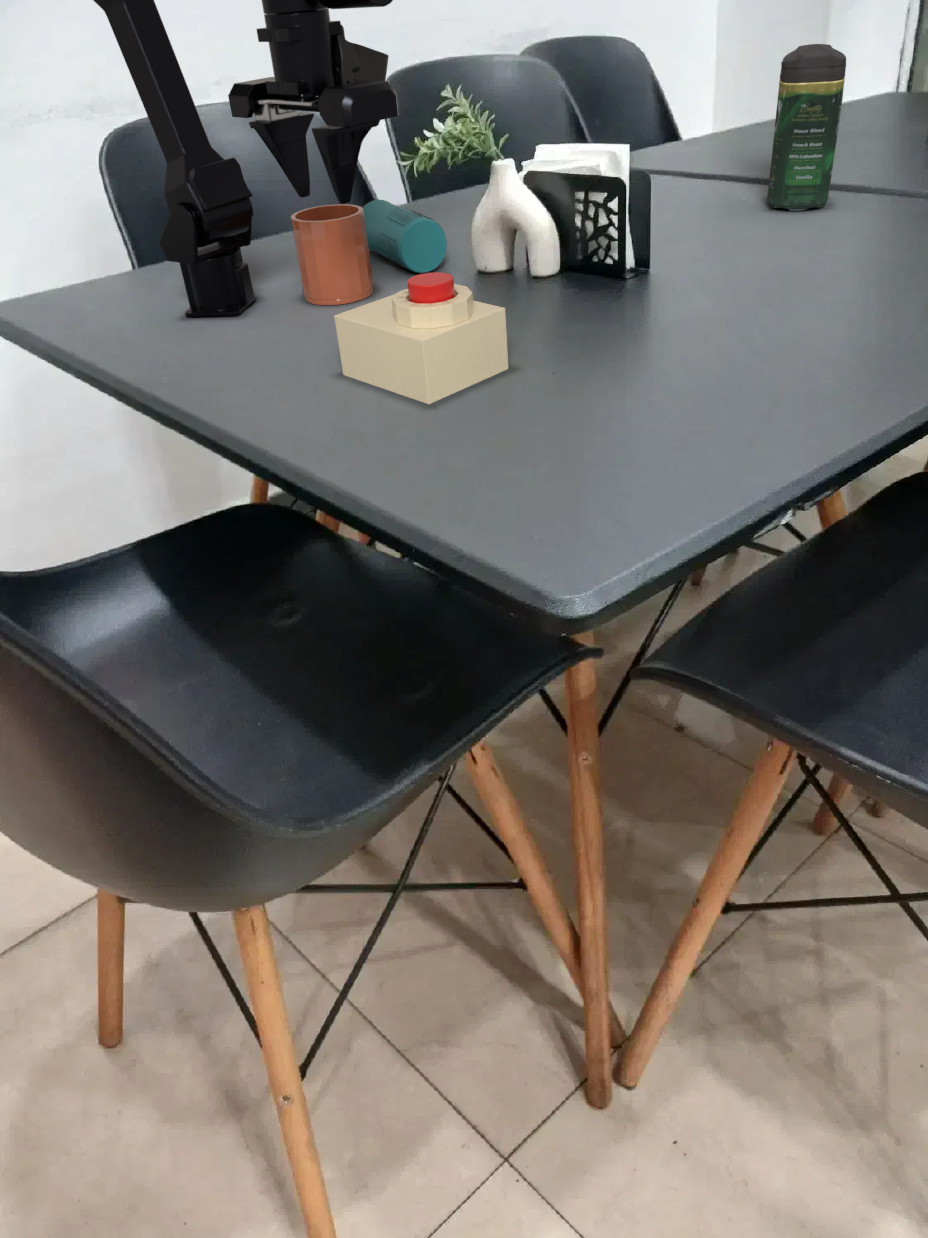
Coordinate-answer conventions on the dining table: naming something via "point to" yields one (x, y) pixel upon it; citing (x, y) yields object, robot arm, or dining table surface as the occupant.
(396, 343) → the red push button box
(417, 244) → the beverage bottle
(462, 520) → the dining table surface
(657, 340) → the dining table surface
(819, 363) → the dining table surface
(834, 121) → the coffee jar
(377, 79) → the robot arm
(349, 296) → the terracotta cup
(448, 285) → the power button
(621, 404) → the dining table surface
